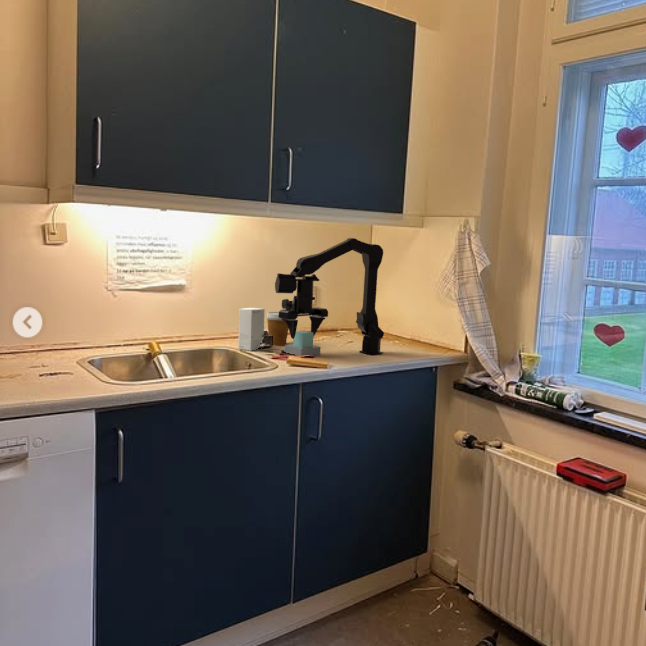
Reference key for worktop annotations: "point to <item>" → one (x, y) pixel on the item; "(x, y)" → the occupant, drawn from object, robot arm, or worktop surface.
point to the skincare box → (251, 328)
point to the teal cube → (303, 339)
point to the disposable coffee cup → (277, 328)
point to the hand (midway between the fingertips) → (302, 337)
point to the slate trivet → (302, 350)
